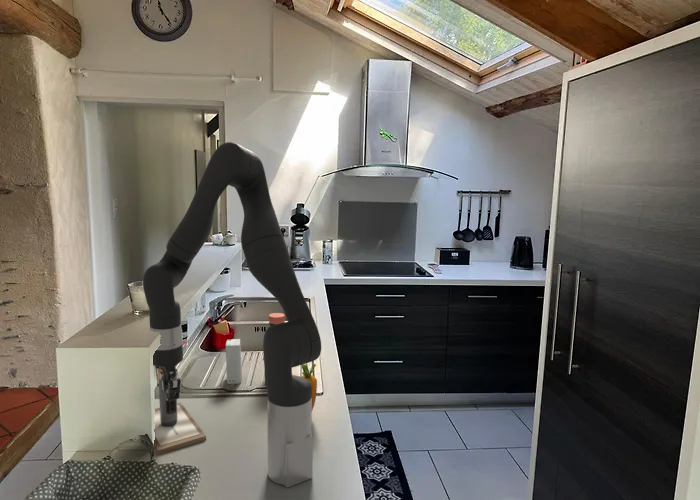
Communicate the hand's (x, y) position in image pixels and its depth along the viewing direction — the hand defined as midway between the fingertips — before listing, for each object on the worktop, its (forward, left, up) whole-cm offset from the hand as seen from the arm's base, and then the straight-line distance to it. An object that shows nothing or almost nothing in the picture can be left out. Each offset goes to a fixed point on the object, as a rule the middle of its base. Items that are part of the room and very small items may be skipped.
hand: (168, 408), depth 119 cm
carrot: (-15, -31, -5) cm, 35 cm away
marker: (0, 0, -4) cm, 4 cm away
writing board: (-1, 0, -5) cm, 5 cm away
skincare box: (+17, -24, -5) cm, 30 cm away
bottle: (+12, -36, -5) cm, 39 cm away
